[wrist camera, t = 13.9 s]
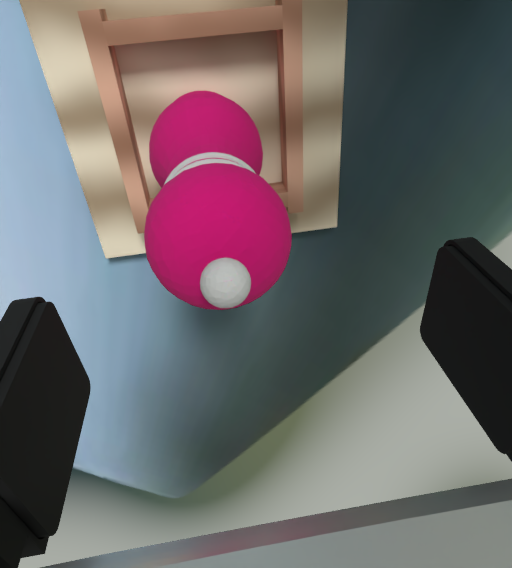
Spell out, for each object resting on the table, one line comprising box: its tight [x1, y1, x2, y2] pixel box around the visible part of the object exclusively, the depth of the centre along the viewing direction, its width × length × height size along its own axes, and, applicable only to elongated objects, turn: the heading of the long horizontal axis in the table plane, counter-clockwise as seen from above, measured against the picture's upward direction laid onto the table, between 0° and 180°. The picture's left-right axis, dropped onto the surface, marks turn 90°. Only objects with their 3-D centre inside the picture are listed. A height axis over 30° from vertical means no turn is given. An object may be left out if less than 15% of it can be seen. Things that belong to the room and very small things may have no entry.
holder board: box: [19, 0, 348, 258], centre depth 29 cm, size 20×20×3 cm
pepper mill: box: [144, 91, 292, 310], centre depth 22 cm, size 7×7×20 cm
